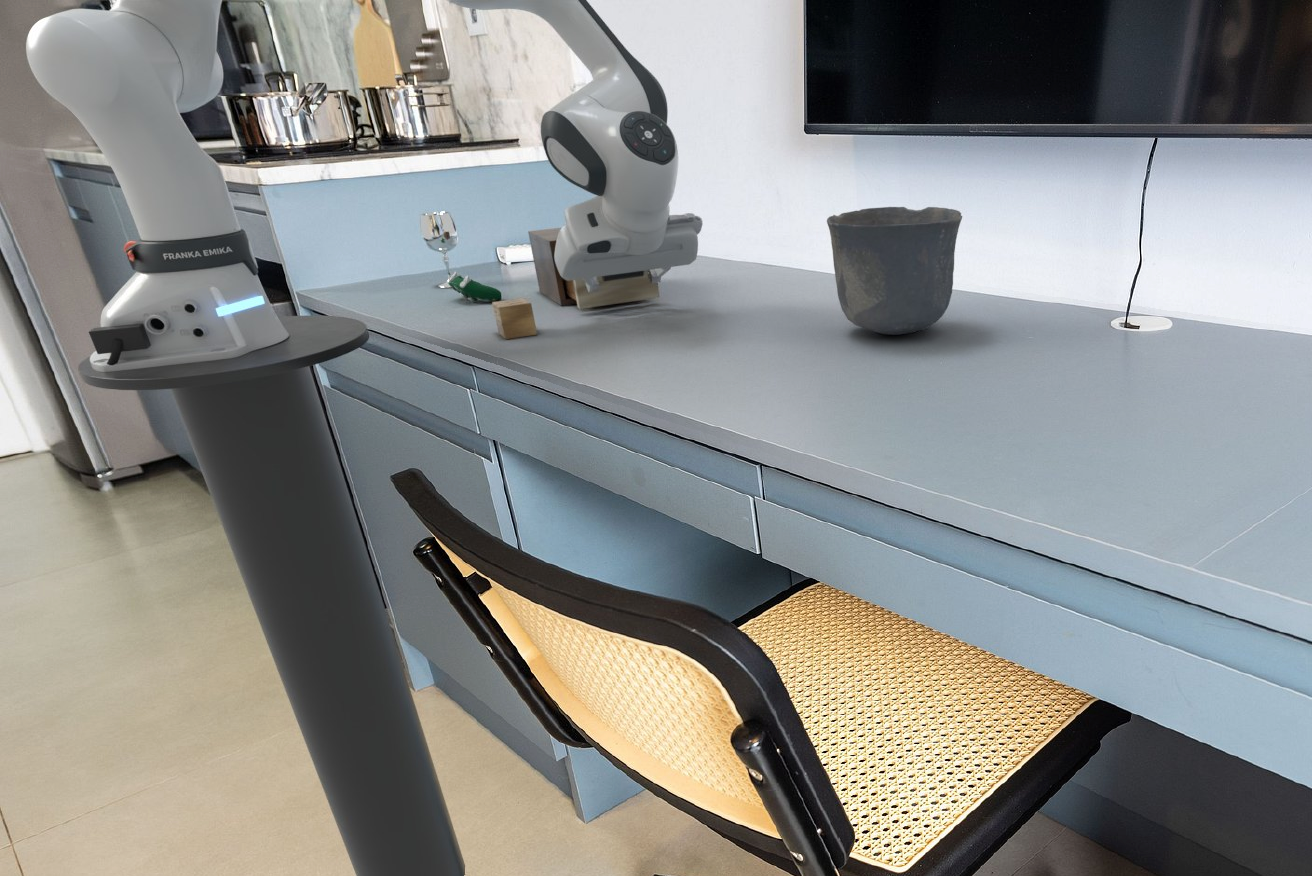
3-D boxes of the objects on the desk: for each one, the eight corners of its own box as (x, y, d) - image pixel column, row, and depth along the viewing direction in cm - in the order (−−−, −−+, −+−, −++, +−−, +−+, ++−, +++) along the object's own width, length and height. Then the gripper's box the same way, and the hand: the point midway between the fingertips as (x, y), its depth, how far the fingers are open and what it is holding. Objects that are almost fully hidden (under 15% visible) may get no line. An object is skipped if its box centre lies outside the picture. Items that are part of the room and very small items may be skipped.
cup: (993, 331, 132) (995, 210, 125) (898, 358, 122) (894, 229, 115) (900, 312, 144) (897, 201, 137) (805, 336, 133) (797, 217, 126)
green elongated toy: (473, 306, 169) (441, 284, 164) (484, 287, 169) (453, 265, 165) (493, 314, 162) (460, 292, 158) (505, 294, 163) (473, 271, 158)
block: (505, 339, 139) (498, 307, 137) (498, 333, 142) (491, 302, 140) (537, 334, 141) (531, 302, 138) (530, 328, 144) (523, 297, 142)
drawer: (669, 301, 152) (662, 247, 149) (588, 313, 147) (578, 258, 143) (634, 285, 165) (626, 235, 162) (558, 295, 160) (548, 244, 156)
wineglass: (462, 280, 181) (446, 210, 175) (473, 284, 177) (457, 212, 171) (429, 285, 177) (412, 214, 172) (440, 289, 173) (423, 216, 168)
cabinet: (645, 293, 163) (636, 230, 159) (561, 305, 157) (549, 240, 153) (619, 281, 174) (610, 222, 169) (539, 292, 168) (527, 231, 163)
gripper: (696, 194, 142) (681, 257, 154) (552, 209, 133) (548, 274, 145) (712, 231, 141) (696, 291, 153) (568, 248, 132) (562, 310, 144)
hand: (623, 283), depth 149 cm, fingers open, 8 cm apart
